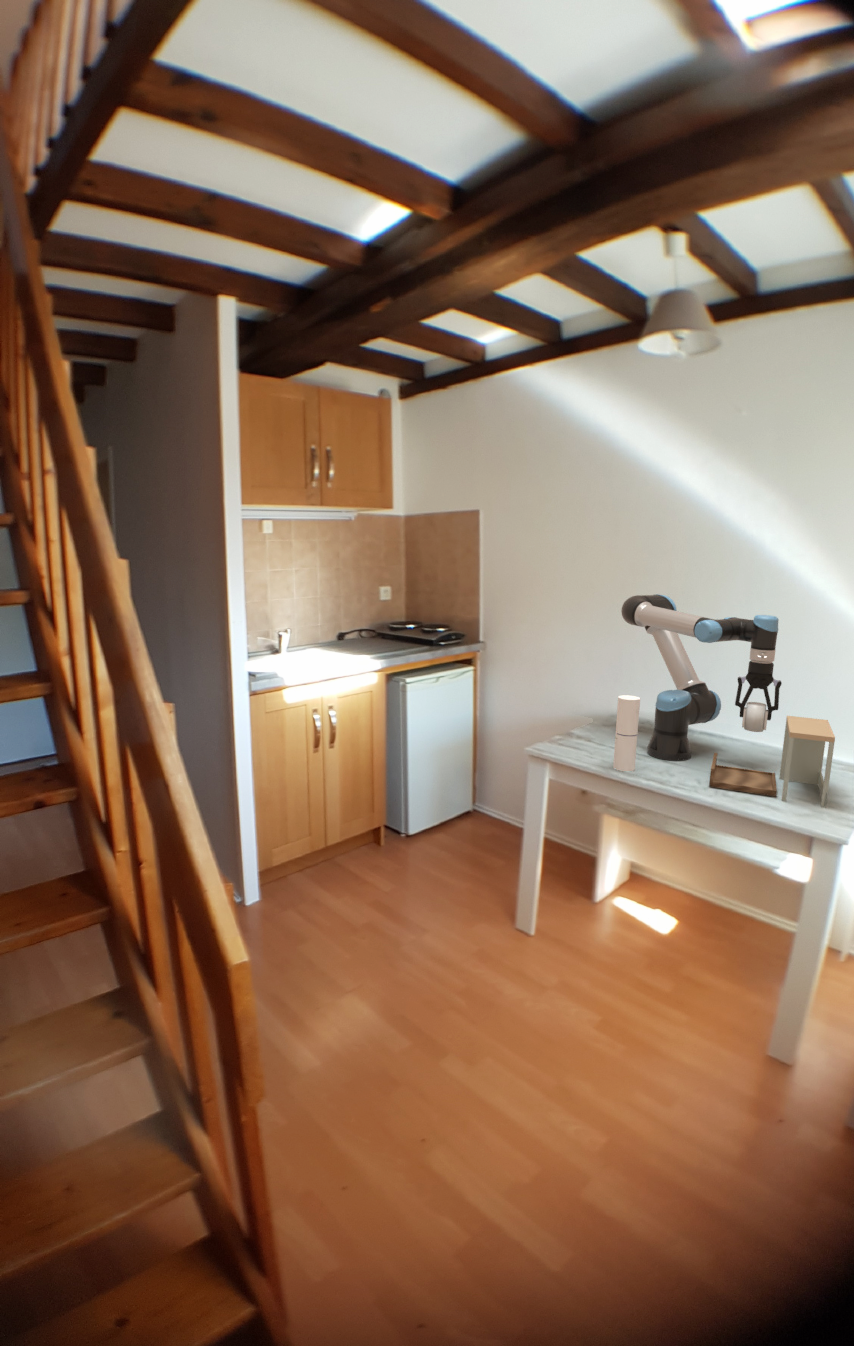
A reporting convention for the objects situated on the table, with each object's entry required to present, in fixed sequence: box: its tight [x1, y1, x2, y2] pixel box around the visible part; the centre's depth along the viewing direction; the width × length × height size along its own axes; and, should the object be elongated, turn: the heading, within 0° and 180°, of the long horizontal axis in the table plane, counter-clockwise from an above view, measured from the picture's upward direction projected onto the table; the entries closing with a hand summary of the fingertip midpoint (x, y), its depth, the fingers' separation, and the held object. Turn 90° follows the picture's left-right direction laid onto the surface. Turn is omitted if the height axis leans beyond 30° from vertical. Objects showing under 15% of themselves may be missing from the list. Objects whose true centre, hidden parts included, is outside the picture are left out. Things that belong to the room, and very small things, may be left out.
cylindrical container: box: [612, 694, 641, 772], centre depth 229 cm, size 7×7×25 cm
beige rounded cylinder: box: [743, 701, 767, 733], centre depth 230 cm, size 6×6×9 cm
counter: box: [778, 715, 836, 809], centre depth 210 cm, size 12×22×22 cm, turn 154°
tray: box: [708, 752, 778, 797], centre depth 218 cm, size 19×19×6 cm
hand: (753, 727), depth 231 cm, fingers closed on beige rounded cylinder, 6 cm apart
